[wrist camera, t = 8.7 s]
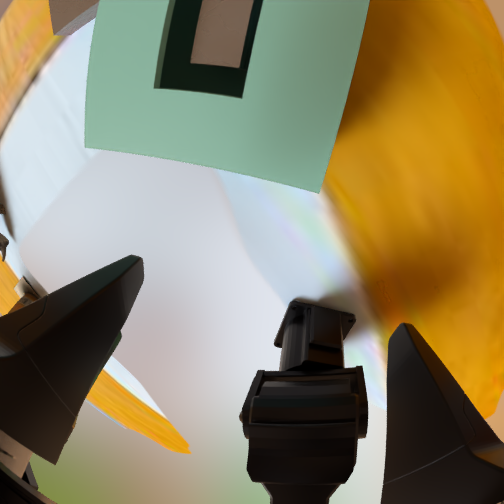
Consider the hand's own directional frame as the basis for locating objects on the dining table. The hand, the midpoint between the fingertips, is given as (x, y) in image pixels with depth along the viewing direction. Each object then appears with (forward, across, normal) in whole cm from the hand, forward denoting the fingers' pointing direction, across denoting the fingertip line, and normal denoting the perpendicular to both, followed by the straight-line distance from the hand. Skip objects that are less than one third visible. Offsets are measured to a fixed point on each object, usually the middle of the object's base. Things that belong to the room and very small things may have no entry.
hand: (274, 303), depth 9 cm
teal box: (+12, +5, -9) cm, 16 cm away
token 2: (+12, +5, -9) cm, 16 cm away
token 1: (+13, +19, -13) cm, 26 cm away
